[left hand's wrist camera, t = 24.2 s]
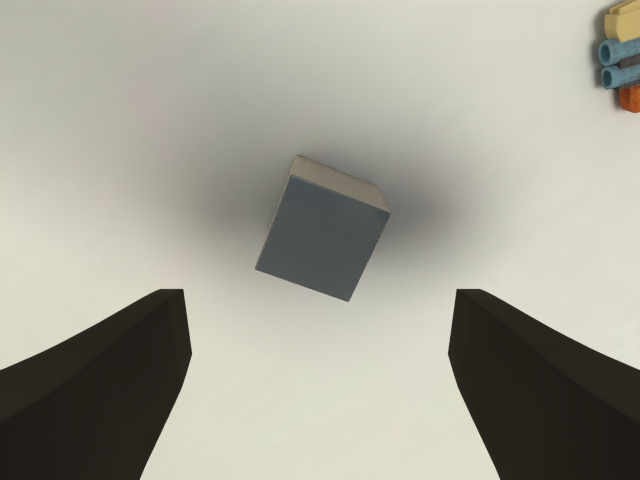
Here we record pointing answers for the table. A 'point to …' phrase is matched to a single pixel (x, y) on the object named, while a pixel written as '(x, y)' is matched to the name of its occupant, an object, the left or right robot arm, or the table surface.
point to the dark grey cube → (323, 229)
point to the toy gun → (622, 53)
